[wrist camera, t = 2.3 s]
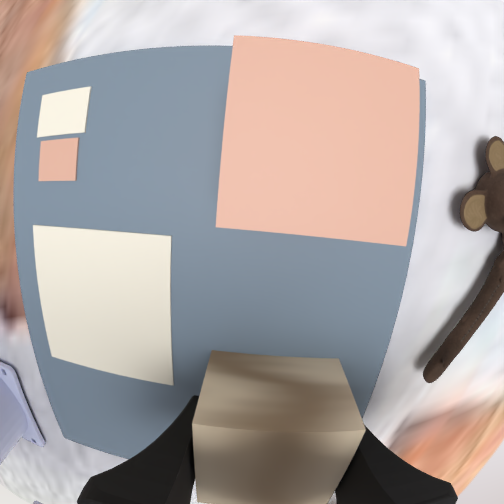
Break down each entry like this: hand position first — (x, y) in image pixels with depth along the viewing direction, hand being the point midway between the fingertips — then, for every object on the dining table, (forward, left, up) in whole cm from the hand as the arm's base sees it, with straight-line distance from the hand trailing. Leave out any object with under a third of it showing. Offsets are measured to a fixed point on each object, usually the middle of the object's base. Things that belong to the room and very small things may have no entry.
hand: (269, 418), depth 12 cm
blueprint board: (-4, +4, -2) cm, 6 cm away
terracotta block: (0, +11, -1) cm, 11 cm away
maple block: (0, 0, -1) cm, 1 cm away
